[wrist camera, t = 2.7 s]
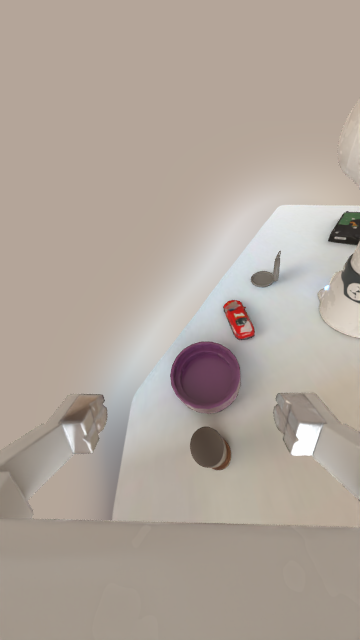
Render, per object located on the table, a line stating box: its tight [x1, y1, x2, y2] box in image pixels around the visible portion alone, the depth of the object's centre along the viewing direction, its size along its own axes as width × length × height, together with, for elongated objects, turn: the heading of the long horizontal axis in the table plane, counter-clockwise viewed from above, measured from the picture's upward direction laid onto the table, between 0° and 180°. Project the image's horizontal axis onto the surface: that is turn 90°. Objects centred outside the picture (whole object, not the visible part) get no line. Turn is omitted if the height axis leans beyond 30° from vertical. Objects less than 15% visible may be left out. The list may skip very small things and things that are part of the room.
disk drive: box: [328, 211, 360, 245], centre depth 60 cm, size 10×3×15 cm
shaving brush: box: [190, 427, 231, 470], centre depth 31 cm, size 5×5×12 cm
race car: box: [223, 300, 255, 340], centre depth 51 cm, size 13×5×4 cm, turn 7°
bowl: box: [170, 342, 241, 414], centre depth 43 cm, size 15×15×4 cm
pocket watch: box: [251, 251, 281, 287], centre depth 55 cm, size 8×8×10 cm
